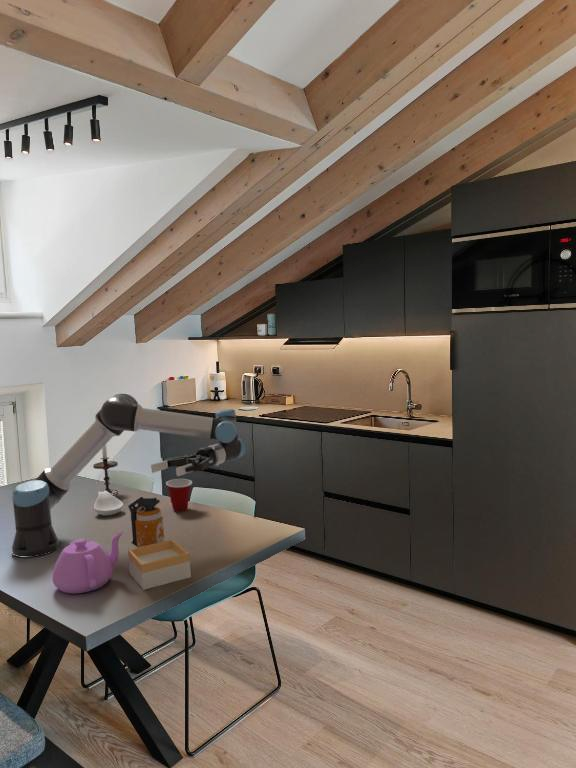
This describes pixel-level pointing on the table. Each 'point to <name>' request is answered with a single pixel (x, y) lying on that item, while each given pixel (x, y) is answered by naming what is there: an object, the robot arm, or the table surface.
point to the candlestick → (105, 466)
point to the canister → (146, 522)
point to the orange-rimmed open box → (159, 564)
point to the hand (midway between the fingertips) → (164, 470)
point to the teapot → (85, 566)
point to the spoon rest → (107, 504)
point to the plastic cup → (179, 493)
